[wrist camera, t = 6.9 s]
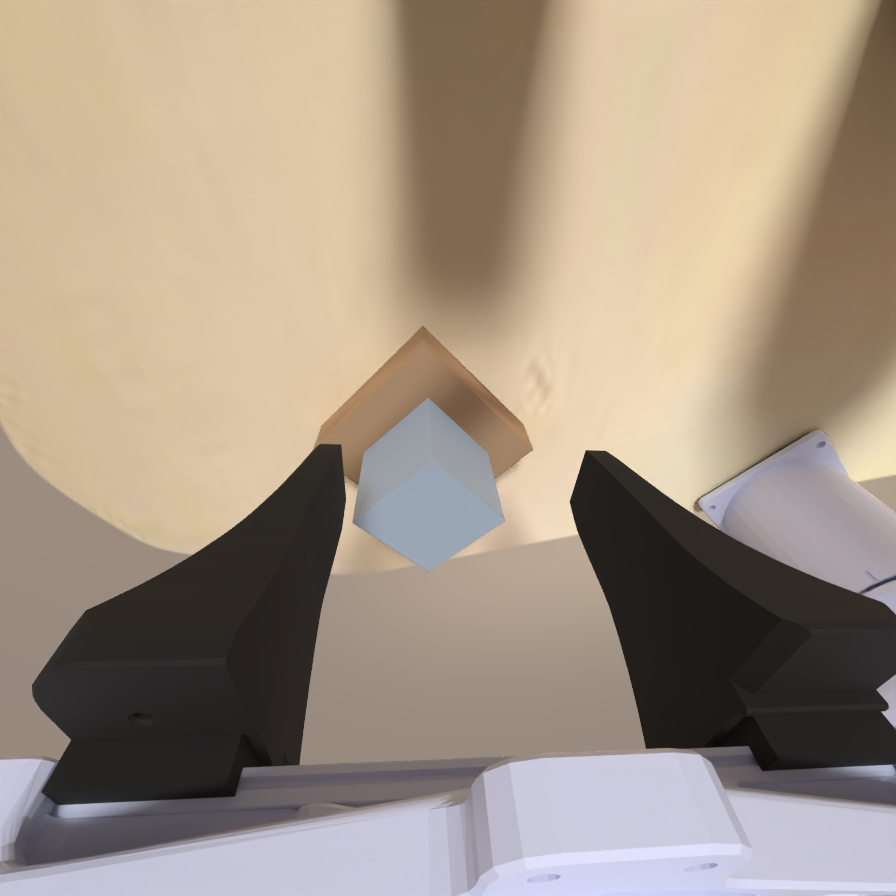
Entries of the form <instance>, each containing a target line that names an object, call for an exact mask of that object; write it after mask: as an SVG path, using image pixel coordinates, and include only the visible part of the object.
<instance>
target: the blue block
mask: <svg viewBox="0 0 896 896" xmlns="http://www.w3.org/2000/svg"><path fill="white" fill-rule="evenodd" d="M504 521H505V520H504V516H503V512H502V508H501V504H500V499H499V495H498V491H497V487H496V483H495V479H494V475H493V471H492V467H491V463H490V459H489V455H488V453H487V452H486V451H485V450H484V449H483V448H482V447H481V446H480V445H479V444H478V443H477V442H476V441H475V440H473V439H472V438H471V437H470V436H469V435H468V434H467V433H466V432H465V431H464V430H463V429H462V428H461V427H459V426H458V425H457V424H456V423H455V422H454V421H453V420H452V419H451V418H450V417H449V416H448V415H446V414H445V413H444V412H443V411H442V410H441V409H440V408H439V407H438V406H437V405H436V404H435V403H434V402H432V401H431V400H430V399H429V398H427V399H426V400H425V401H424V402H422V403H421V404H420V405H419V406H418V407H417V408H415V409H414V410H413V411H412V412H411V413H410V414H408V415H407V416H406V417H405V418H404V419H403V420H401V421H400V422H399V423H398V424H397V425H395V426H394V427H393V428H392V429H391V430H390V431H388V432H387V433H386V434H385V435H384V436H383V437H381V438H380V439H379V440H378V441H377V442H376V443H374V444H373V445H372V446H371V447H370V448H368V449H367V450H366V451H365V452H364V455H363V461H362V467H361V473H360V480H359V486H358V492H357V498H356V504H355V510H354V517H353V523H354V524H355V525H357V526H358V527H360V528H361V529H363V530H364V531H366V532H367V533H369V534H370V535H372V536H374V537H375V538H377V539H378V540H380V541H381V542H383V543H384V544H386V545H387V546H389V547H390V548H392V549H393V550H395V551H397V552H398V553H400V554H401V555H403V556H404V557H406V558H407V559H409V560H410V561H412V562H413V563H415V564H417V565H418V566H420V567H421V568H423V569H424V570H426V571H427V572H429V571H430V570H432V569H433V568H435V567H436V566H438V565H439V564H441V563H442V562H444V561H445V560H447V559H448V558H450V557H451V556H453V555H454V554H456V553H457V552H459V551H460V550H462V549H463V548H465V547H466V546H468V545H470V544H471V543H473V542H474V541H476V540H477V539H479V538H480V537H482V536H483V535H485V534H486V533H488V532H489V531H491V530H492V529H494V528H495V527H497V526H498V525H500V524H501V523H503V522H504Z"/></svg>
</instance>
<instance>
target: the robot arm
mask: <svg viewBox="0 0 896 896" xmlns="http://www.w3.org/2000/svg"><path fill="white" fill-rule="evenodd" d="M345 502H346V494H345V482H344V470H343V458H342V446H341V444H319V445H318V446H317V447H316V448H315V449H314V450H313V451H312V452H311V453H310V454H309V456H308V457H307V458H306V459H305V460H304V461H303V462H302V464H301V465H300V466H299V467H298V468H297V469H296V470H295V471H294V472H293V473H292V474H291V475H290V476H289V478H288V479H287V480H286V481H285V482H284V483H283V484H282V485H281V486H280V487H279V488H278V489H277V490H276V491H275V492H274V493H273V494H272V495H271V496H269V497H268V498H267V499H266V500H265V501H264V502H263V503H262V504H261V505H260V506H259V507H258V508H256V509H255V510H254V511H253V512H252V513H251V514H249V515H248V516H247V517H246V518H245V519H243V520H242V521H241V522H240V523H238V524H237V525H236V526H235V527H233V528H232V529H231V530H229V531H228V532H227V533H225V534H224V535H222V536H221V537H219V538H218V539H216V540H215V541H213V542H212V543H210V544H209V545H207V546H206V547H204V548H203V549H201V550H200V551H198V552H197V553H195V554H194V555H192V556H191V557H189V558H187V559H186V560H184V561H182V562H180V563H179V564H177V565H175V566H174V567H172V568H170V569H168V570H167V571H165V572H163V573H161V574H160V575H157V576H156V577H154V578H152V579H150V580H148V581H146V582H144V583H143V584H141V585H139V586H137V587H135V588H133V589H131V590H129V591H126V592H124V593H122V594H120V595H118V596H116V597H114V598H112V599H110V600H108V601H106V602H104V603H101V604H99V605H97V606H95V607H93V608H91V609H88V610H86V611H85V613H84V614H83V615H82V616H81V618H80V619H79V620H78V621H77V622H76V624H75V625H74V626H73V628H72V629H71V630H70V631H69V633H68V634H67V636H66V637H65V639H64V640H63V641H62V643H61V644H60V646H59V647H58V648H57V650H56V651H55V653H54V654H53V656H52V657H51V658H50V660H49V661H48V663H47V664H46V666H45V667H44V668H43V670H42V671H41V673H40V674H39V675H38V677H37V678H36V680H35V681H34V683H33V684H32V692H33V697H34V700H35V702H36V703H37V704H38V706H39V707H40V709H41V710H42V711H43V712H44V713H45V714H46V715H47V716H48V717H49V718H50V719H51V720H52V721H53V722H54V723H55V724H56V725H57V726H58V727H59V728H60V729H61V730H62V731H63V732H64V733H65V734H66V735H67V736H68V737H69V738H70V739H71V742H70V743H69V745H68V747H67V749H66V750H65V752H64V754H63V756H62V757H61V759H60V760H59V761H58V760H56V759H53V758H49V757H44V756H16V757H0V896H896V513H895V512H894V511H893V510H892V509H890V508H889V507H888V506H886V505H885V504H884V503H882V502H881V501H880V500H878V499H877V498H875V497H874V496H873V495H872V494H870V493H869V492H868V491H866V490H865V489H864V488H862V487H861V486H860V485H859V484H857V483H856V482H855V481H853V480H852V479H851V478H849V476H848V474H847V472H846V470H845V468H844V466H843V464H842V463H841V461H840V459H839V457H838V455H837V453H836V451H835V449H834V447H833V446H832V444H831V442H830V440H829V438H828V436H827V434H825V433H824V432H823V431H821V430H815V431H813V432H811V433H809V434H807V435H806V436H804V437H802V438H801V439H799V440H797V441H796V442H794V443H792V444H791V445H789V446H787V447H786V448H784V449H782V450H780V451H779V452H777V453H775V454H774V455H772V456H770V457H769V458H767V459H765V460H764V461H762V462H760V463H759V464H757V465H755V466H754V467H752V468H750V469H749V470H747V471H745V472H744V473H742V474H740V475H739V476H737V477H735V478H734V479H732V480H730V481H729V482H727V483H725V484H724V485H722V486H720V487H718V488H717V489H715V490H713V491H712V492H710V493H708V494H707V495H705V496H703V497H702V498H701V499H700V500H699V501H698V505H699V506H700V507H701V509H702V510H703V511H704V512H705V513H706V514H707V515H708V517H709V518H710V519H711V520H712V521H713V522H714V523H715V525H716V526H717V527H718V528H719V529H720V530H721V531H720V530H718V529H716V528H715V527H713V526H712V525H710V524H708V523H706V522H705V521H703V520H701V519H700V518H698V517H697V516H695V515H694V514H692V513H691V512H689V511H688V510H686V509H685V508H683V507H682V506H680V505H679V504H677V503H676V502H675V501H673V500H672V499H670V498H669V497H667V496H666V495H665V494H663V493H662V492H661V491H659V490H658V489H657V488H655V487H654V486H652V485H651V484H650V483H648V482H647V481H646V480H645V479H643V478H642V477H641V476H639V475H638V474H637V473H635V472H634V471H633V470H631V469H630V468H629V467H628V466H626V465H625V464H624V463H622V462H621V461H620V460H618V459H617V458H615V457H614V456H613V455H611V454H610V453H608V452H606V451H589V450H586V452H585V455H584V458H583V461H582V464H581V468H580V471H579V474H578V477H577V480H576V484H575V487H574V490H573V493H572V496H571V499H570V505H571V509H572V513H573V517H574V520H575V524H576V527H577V531H578V533H579V536H580V538H581V540H582V543H583V545H584V548H585V550H586V553H587V555H588V557H589V560H590V562H591V564H592V566H593V569H594V571H595V573H596V576H597V578H598V580H599V583H600V585H601V587H602V589H603V592H604V594H605V597H606V600H607V602H608V604H609V607H610V610H611V614H612V617H613V620H614V623H615V626H616V630H617V633H618V636H619V639H620V643H621V647H622V650H623V654H624V657H625V661H626V665H627V668H628V672H629V676H630V680H631V684H632V688H633V692H634V696H635V700H636V704H637V708H638V713H639V717H640V722H641V726H642V731H643V736H644V741H645V746H646V749H634V750H610V751H586V752H564V753H542V754H541V753H540V754H532V755H525V756H504V757H481V758H457V759H435V760H411V761H387V762H365V763H364V762H363V763H340V764H316V765H299V762H300V754H301V746H302V737H303V729H304V721H305V714H306V706H307V699H308V691H309V684H310V677H311V670H312V664H313V657H314V650H315V643H316V637H317V631H318V624H319V618H320V612H321V608H322V603H323V598H324V595H325V591H326V587H327V583H328V580H329V576H330V572H331V568H332V565H333V561H334V557H335V554H336V550H337V546H338V542H339V538H340V535H341V531H342V525H343V518H344V510H345Z"/></svg>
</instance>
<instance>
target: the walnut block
mask: <svg viewBox="0 0 896 896" xmlns="http://www.w3.org/2000/svg"><path fill="white" fill-rule="evenodd" d="M427 398H429V399H430V400H431V401H432V402H434V403H435V404H436V405H437V406H438V407H439V408H440V409H441V410H442V411H443V412H444V413H445V414H446V415H448V416H449V417H450V418H451V419H452V420H453V421H454V422H455V423H456V424H457V425H458V426H459V427H461V428H462V429H463V430H464V431H465V432H466V433H467V434H468V435H469V436H470V437H471V438H472V439H473V440H475V441H476V442H477V443H478V444H479V445H480V446H481V447H482V448H483V449H484V450H485V451H486V452H487V453H488V455H489V459H490V463H491V467H492V471H493V475H494V478H496V477H497V476H498V475H500V474H501V473H502V472H504V471H505V470H507V469H508V468H509V467H511V466H512V465H513V464H515V463H516V462H517V461H519V460H520V459H521V458H523V457H524V456H525V455H527V454H528V453H529V452H531V451H532V450H533V448H532V445H531V443H530V440H529V438H528V435H527V432H526V430H525V427H524V425H523V423H522V422H521V421H520V420H519V419H517V418H516V417H515V416H514V415H513V414H512V413H511V412H510V411H509V410H508V409H507V408H506V407H505V406H504V405H503V404H502V403H501V402H500V401H499V400H498V399H497V398H496V397H495V396H494V395H493V394H492V393H491V392H490V391H489V390H488V389H487V388H486V387H485V386H484V385H483V384H482V383H481V382H480V381H479V380H478V379H477V378H476V377H475V376H474V375H473V374H472V373H471V372H469V371H468V370H467V369H466V368H465V367H464V366H463V365H462V364H461V363H460V362H459V361H458V360H457V359H456V358H455V357H454V356H453V355H452V354H451V353H450V352H449V351H448V350H447V349H446V348H445V347H444V346H443V345H442V344H441V343H440V342H439V341H438V340H437V339H436V338H435V337H434V336H433V335H432V334H431V333H430V332H429V331H428V330H427V329H426V328H425V327H424V326H423V327H422V328H421V329H420V330H418V331H417V332H416V333H415V334H414V335H413V336H412V337H411V338H410V339H409V340H408V341H407V342H406V343H405V344H404V345H403V346H402V347H401V348H400V349H399V350H398V351H397V352H396V353H395V354H394V355H393V356H392V357H391V358H390V359H389V360H388V361H387V362H386V363H385V364H384V365H383V366H382V367H381V368H380V369H379V370H378V371H377V372H376V373H375V374H374V375H373V376H372V377H371V378H370V379H369V380H368V381H367V382H366V383H365V384H364V385H363V386H362V387H361V388H360V389H359V390H358V391H357V392H356V393H355V394H354V395H353V396H352V397H350V398H349V399H348V400H347V401H346V402H345V403H344V404H343V405H342V406H341V407H340V408H339V409H338V410H337V411H336V412H335V413H334V414H333V415H332V416H331V417H330V418H329V419H328V420H327V421H326V422H325V423H324V424H323V425H322V426H321V429H320V432H319V435H318V438H317V441H316V443H315V446H314V449H315V448H316V447H317V446H318V445H319V444H341V446H342V458H343V470H344V475H345V476H347V477H348V478H350V479H351V480H353V481H354V482H356V483H357V484H359V480H360V473H361V467H362V461H363V455H364V452H365V451H366V450H367V449H368V448H370V447H371V446H372V445H373V444H374V443H376V442H377V441H378V440H379V439H380V438H381V437H383V436H384V435H385V434H386V433H387V432H388V431H390V430H391V429H392V428H393V427H394V426H395V425H397V424H398V423H399V422H400V421H401V420H403V419H404V418H405V417H406V416H407V415H408V414H410V413H411V412H412V411H413V410H414V409H415V408H417V407H418V406H419V405H420V404H421V403H422V402H424V401H425V400H426V399H427ZM314 449H313V450H314Z"/></svg>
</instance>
